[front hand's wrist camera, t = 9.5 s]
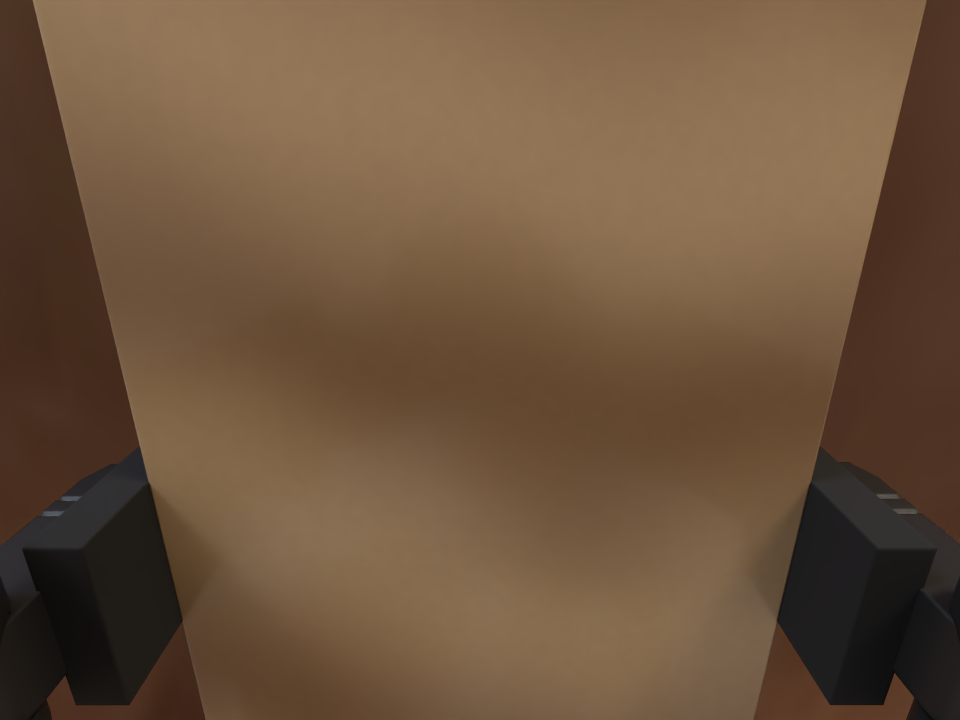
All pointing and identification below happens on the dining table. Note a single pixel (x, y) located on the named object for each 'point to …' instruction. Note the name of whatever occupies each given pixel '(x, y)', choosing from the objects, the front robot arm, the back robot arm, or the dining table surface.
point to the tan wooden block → (479, 331)
